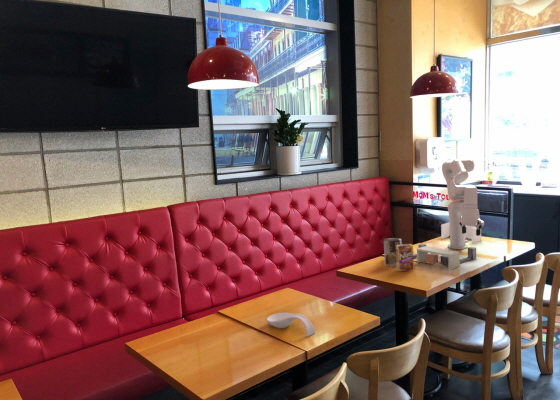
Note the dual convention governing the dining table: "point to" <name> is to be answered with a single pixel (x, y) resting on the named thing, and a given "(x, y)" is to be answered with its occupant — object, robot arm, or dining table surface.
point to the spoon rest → (290, 321)
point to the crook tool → (470, 257)
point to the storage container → (469, 233)
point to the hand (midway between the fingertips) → (471, 234)
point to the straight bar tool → (418, 247)
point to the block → (432, 258)
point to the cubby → (452, 255)
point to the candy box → (404, 257)
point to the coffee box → (390, 251)
